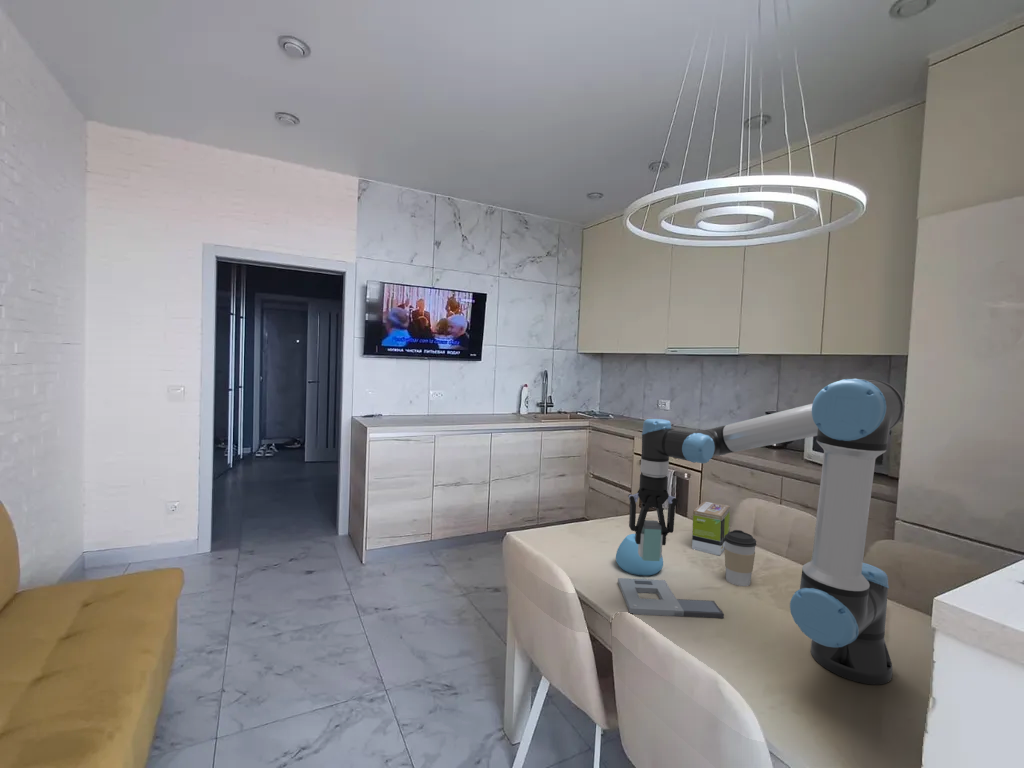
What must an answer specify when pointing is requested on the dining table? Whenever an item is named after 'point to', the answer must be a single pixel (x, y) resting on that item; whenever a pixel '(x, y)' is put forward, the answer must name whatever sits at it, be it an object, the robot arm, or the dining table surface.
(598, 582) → the dining table surface
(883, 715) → the dining table surface
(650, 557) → the charger block
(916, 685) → the dining table surface
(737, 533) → the coffee cup
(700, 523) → the tea box
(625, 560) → the sugar bowl
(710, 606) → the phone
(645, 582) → the outlet plate
